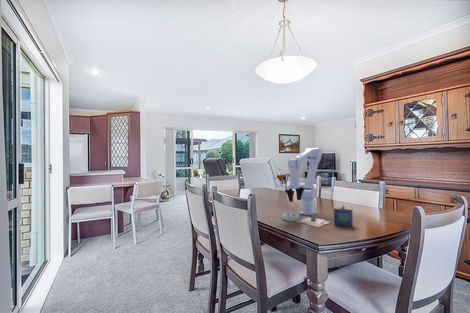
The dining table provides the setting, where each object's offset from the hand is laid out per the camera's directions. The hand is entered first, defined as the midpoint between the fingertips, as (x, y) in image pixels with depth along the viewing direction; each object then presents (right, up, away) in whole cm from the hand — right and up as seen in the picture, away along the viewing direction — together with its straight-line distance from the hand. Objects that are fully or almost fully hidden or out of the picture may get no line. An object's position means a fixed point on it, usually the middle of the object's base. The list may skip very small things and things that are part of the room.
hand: (295, 200), depth 151 cm
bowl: (-3, -11, -2) cm, 11 cm away
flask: (+22, -10, -17) cm, 30 cm away
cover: (+8, -10, -10) cm, 16 cm away
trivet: (+8, -10, -10) cm, 17 cm away
